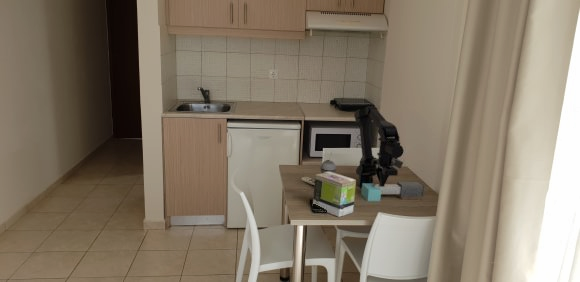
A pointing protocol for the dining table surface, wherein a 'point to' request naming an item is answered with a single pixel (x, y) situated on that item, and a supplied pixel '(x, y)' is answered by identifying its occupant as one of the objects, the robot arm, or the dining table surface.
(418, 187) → the sleeve
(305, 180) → the dining table surface
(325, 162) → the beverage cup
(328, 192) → the tea box
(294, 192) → the dining table surface
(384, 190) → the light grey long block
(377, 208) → the dining table surface
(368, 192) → the socket block
